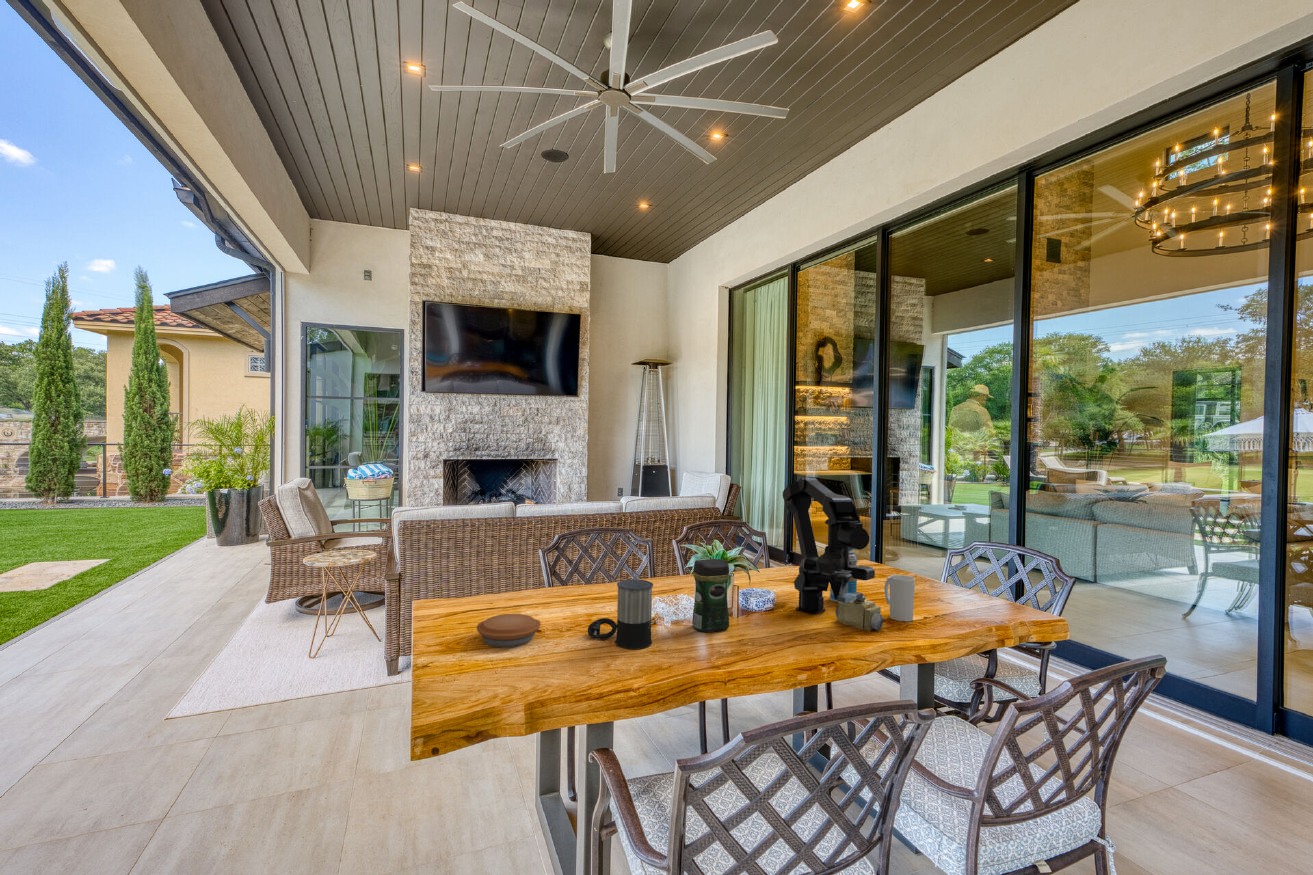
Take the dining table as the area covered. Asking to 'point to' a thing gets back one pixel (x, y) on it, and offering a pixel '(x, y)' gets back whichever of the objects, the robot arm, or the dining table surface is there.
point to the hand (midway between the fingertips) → (837, 599)
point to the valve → (860, 615)
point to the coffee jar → (711, 595)
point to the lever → (852, 597)
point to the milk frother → (629, 616)
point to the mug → (900, 597)
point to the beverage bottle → (852, 583)
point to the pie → (508, 630)
